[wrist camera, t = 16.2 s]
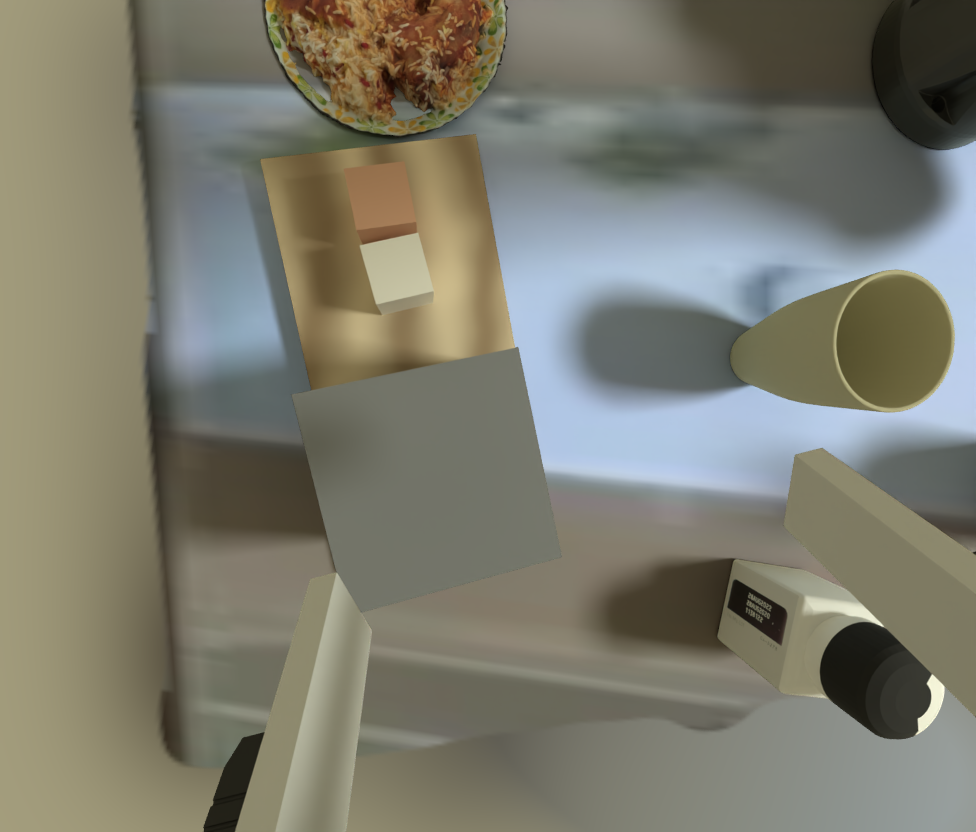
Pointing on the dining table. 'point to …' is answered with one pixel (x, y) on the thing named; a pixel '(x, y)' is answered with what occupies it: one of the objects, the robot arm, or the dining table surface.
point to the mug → (853, 345)
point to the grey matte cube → (428, 477)
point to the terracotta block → (381, 201)
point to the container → (826, 648)
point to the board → (343, 276)
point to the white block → (398, 273)
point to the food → (391, 56)
